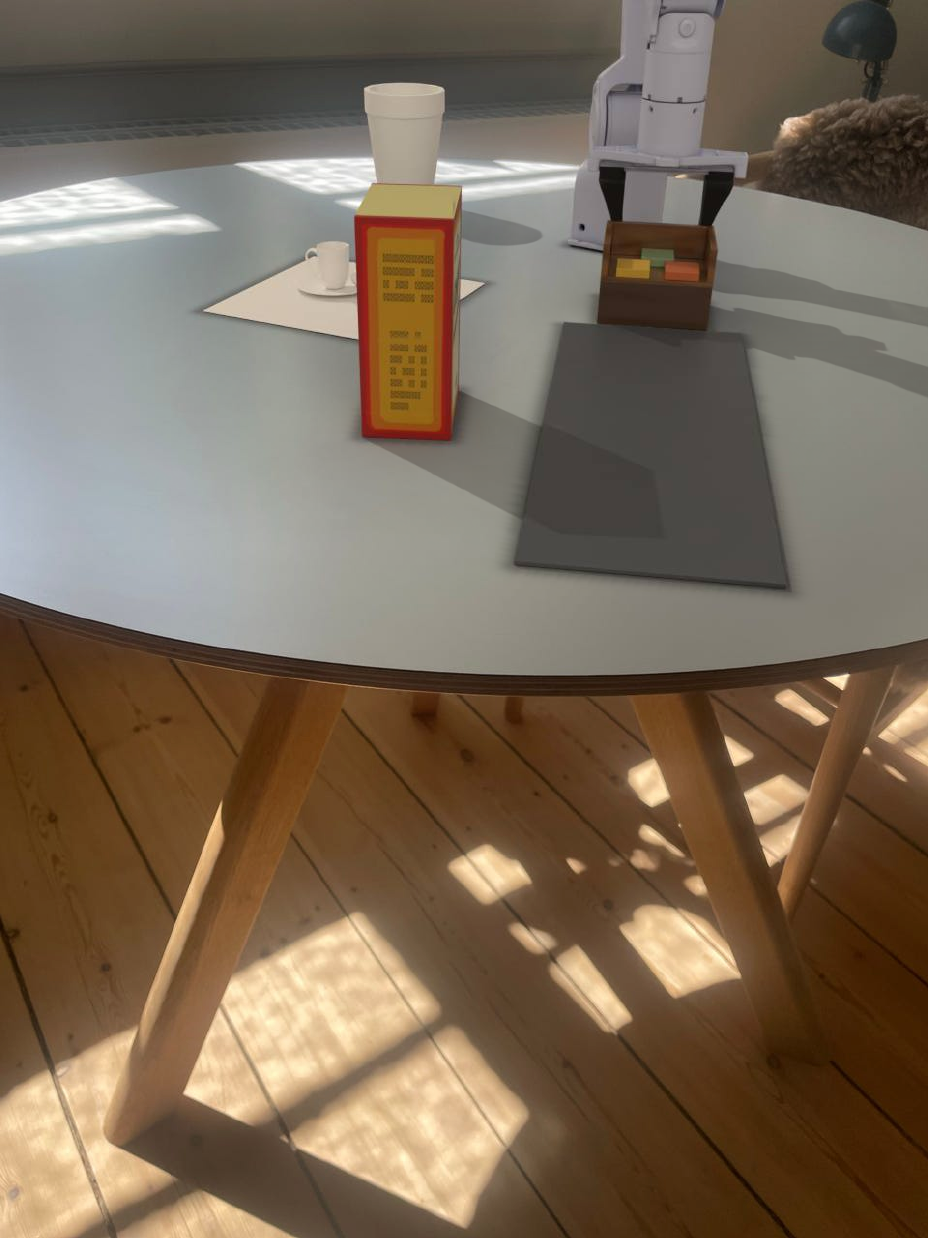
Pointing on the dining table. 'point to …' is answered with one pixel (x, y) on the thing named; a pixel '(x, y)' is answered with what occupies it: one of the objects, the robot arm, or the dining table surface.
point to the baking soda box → (409, 309)
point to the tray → (681, 238)
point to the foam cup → (405, 130)
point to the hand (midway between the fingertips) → (657, 252)
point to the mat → (651, 461)
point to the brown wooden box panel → (654, 304)
